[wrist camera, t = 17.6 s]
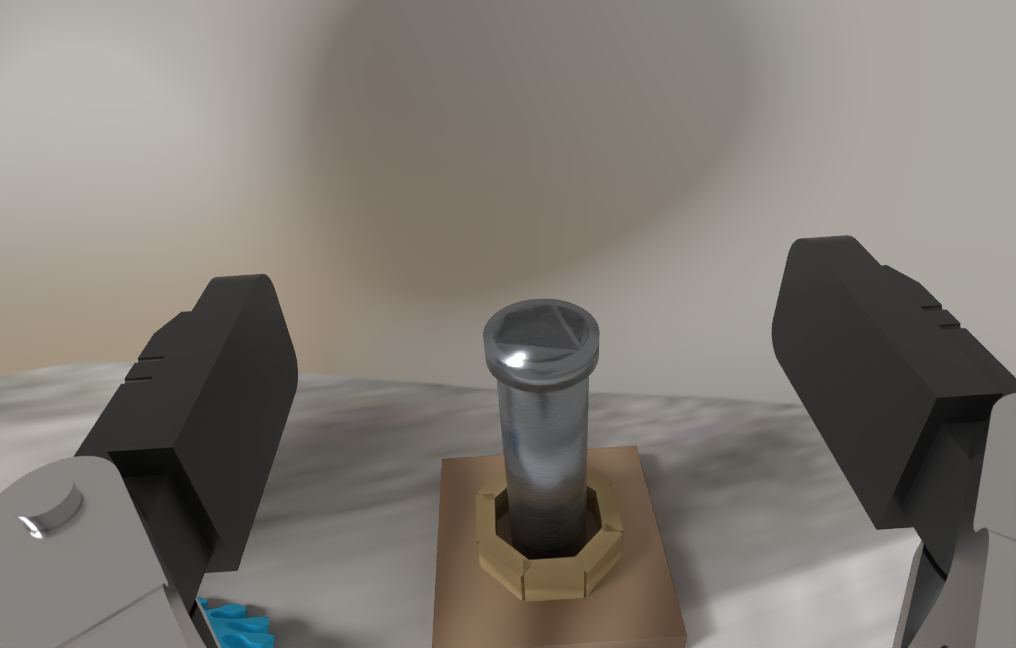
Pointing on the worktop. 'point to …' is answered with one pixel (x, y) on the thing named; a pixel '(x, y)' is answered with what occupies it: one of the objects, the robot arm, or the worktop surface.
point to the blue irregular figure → (238, 627)
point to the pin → (544, 420)
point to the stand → (552, 566)
